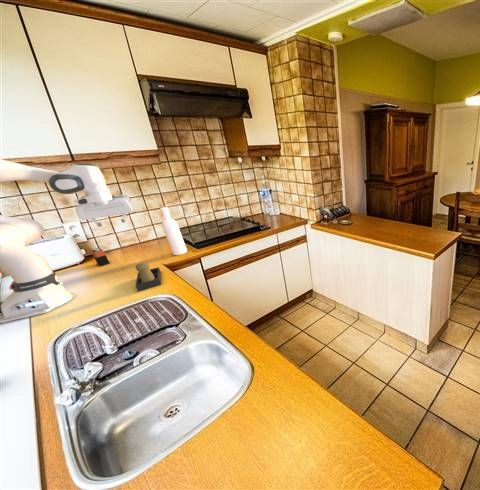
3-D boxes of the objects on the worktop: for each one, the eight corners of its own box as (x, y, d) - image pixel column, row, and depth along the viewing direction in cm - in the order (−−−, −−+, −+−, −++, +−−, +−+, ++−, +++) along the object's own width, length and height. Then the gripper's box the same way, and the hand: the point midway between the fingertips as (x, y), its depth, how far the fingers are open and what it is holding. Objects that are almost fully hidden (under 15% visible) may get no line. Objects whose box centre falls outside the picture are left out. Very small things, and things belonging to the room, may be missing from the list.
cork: (148, 286, 131) (140, 266, 126) (139, 285, 132) (130, 266, 128) (159, 280, 136) (151, 261, 132) (150, 279, 137) (142, 260, 133)
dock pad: (138, 291, 128) (135, 285, 127) (140, 277, 142) (137, 272, 140) (161, 284, 133) (158, 279, 132) (160, 272, 147) (158, 267, 145)
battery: (100, 266, 158) (92, 251, 154) (97, 264, 162) (89, 249, 158) (110, 263, 161) (102, 248, 158) (106, 261, 165) (99, 246, 161)
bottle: (174, 252, 173) (157, 207, 161) (187, 249, 176) (172, 205, 164) (172, 256, 166) (154, 210, 154) (186, 253, 169) (170, 208, 158)
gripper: (128, 192, 137) (138, 218, 142) (73, 200, 126) (86, 227, 131) (126, 194, 132) (137, 221, 138) (69, 202, 121) (83, 230, 127)
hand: (112, 224), depth 134 cm, fingers open, 8 cm apart
